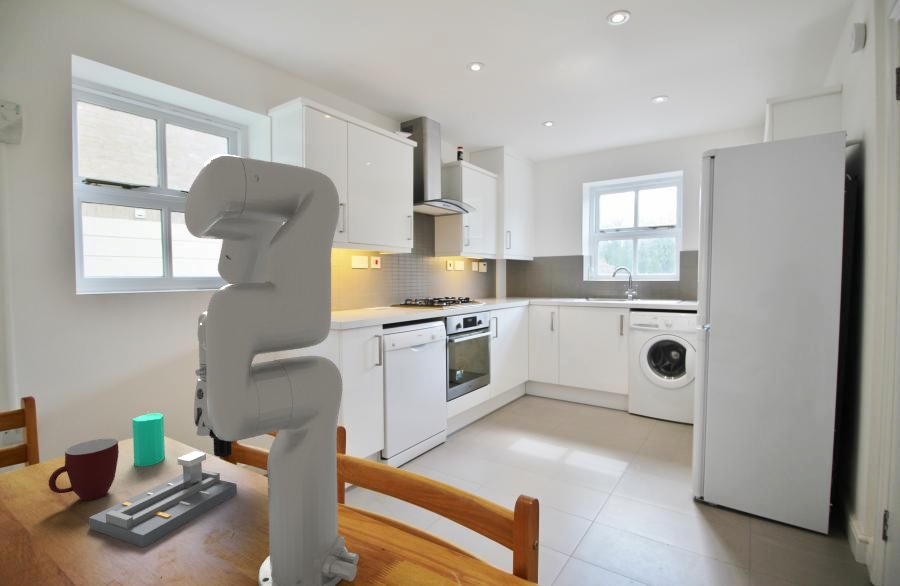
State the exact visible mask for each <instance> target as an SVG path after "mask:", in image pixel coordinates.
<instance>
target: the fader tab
mask: <svg viewBox="0 0 900 586" xmlns="http://www.w3.org/2000/svg"><path fill="white" fill-rule="evenodd" d="M206 460H207V453H205V452H200V451H196V450H194V451H192V452H190V453H186V454H185V455H182V456H180V457H177V465H179V466H182V474H183V483H184V488H190V487H192V486H194V485H196V484H198V483H200V482H202V469H203V468H202V462H205V461H206Z"/></svg>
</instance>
